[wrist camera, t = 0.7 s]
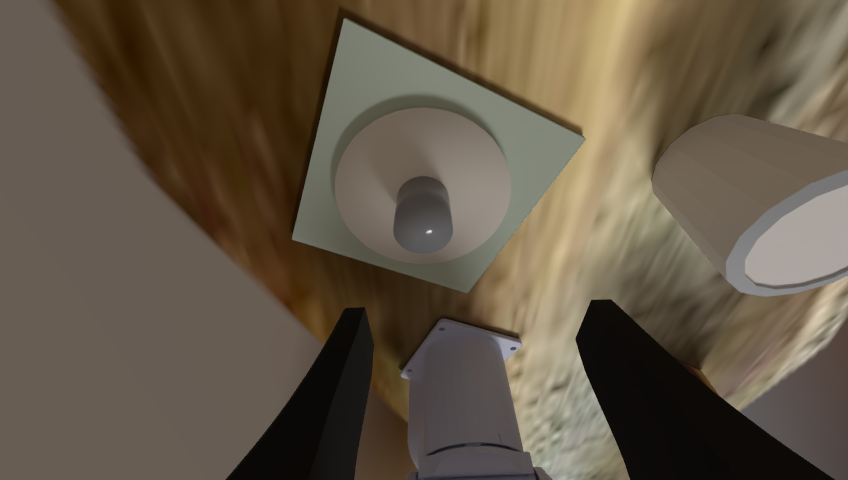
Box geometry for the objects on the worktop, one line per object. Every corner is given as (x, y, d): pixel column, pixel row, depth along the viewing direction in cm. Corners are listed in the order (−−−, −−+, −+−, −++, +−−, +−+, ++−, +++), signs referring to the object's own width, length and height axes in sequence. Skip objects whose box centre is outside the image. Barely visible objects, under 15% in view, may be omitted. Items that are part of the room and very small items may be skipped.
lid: (459, 274, 23) (464, 314, 20) (319, 229, 21) (303, 268, 18) (545, 152, 17) (568, 185, 15) (366, 70, 15) (353, 90, 12)
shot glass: (642, 129, 17) (746, 197, 12) (796, 78, 16) (999, 129, 10) (638, 227, 21) (714, 312, 16) (760, 194, 20) (892, 276, 14)
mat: (466, 289, 25) (467, 293, 24) (293, 235, 21) (291, 239, 21) (583, 136, 17) (586, 138, 17) (345, 17, 14) (343, 18, 14)
